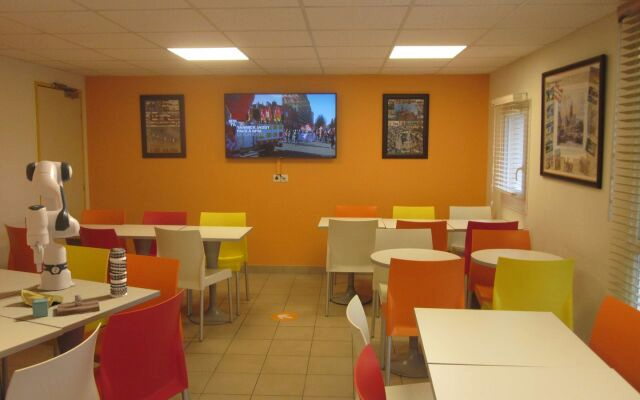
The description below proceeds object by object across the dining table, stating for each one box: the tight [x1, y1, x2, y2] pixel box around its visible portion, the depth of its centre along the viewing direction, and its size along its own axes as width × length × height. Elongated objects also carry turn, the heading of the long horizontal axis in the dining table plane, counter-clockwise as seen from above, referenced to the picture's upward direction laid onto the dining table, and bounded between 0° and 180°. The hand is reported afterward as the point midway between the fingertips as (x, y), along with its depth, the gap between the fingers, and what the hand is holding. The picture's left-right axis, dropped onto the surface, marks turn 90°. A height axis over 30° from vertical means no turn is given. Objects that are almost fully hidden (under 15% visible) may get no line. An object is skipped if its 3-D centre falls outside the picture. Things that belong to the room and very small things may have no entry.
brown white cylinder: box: [108, 247, 128, 298], centre depth 267 cm, size 9×9×25 cm
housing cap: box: [31, 298, 49, 319], centre depth 234 cm, size 6×6×7 cm
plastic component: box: [20, 288, 65, 309], centre depth 252 cm, size 20×7×10 cm
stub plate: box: [56, 294, 100, 317], centre depth 243 cm, size 13×18×7 cm
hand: (39, 270), depth 233 cm, fingers open, 8 cm apart
